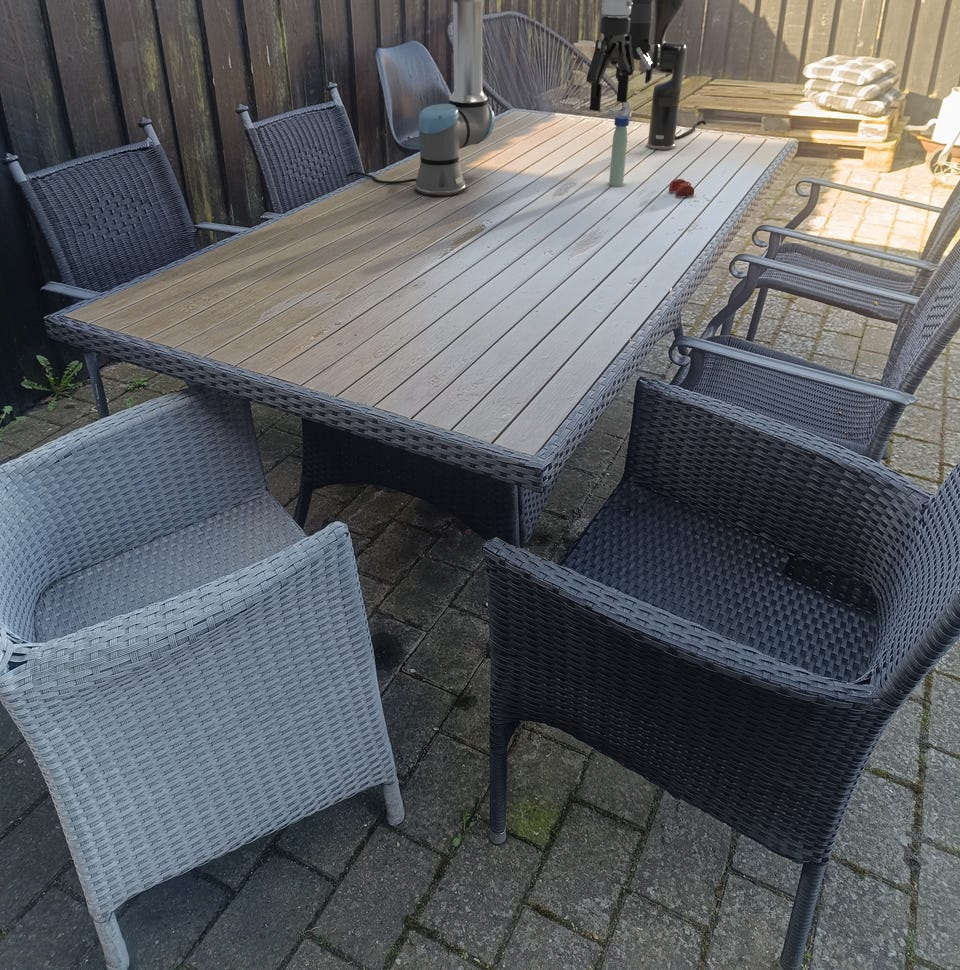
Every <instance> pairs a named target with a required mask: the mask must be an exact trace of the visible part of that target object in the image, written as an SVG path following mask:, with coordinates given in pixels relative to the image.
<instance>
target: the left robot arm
mask: <svg viewBox="0 0 960 970" xmlns="http://www.w3.org/2000/svg"><path fill="white" fill-rule="evenodd" d="M483 1H484V0H451V3H452V4H451V5H452V54H453V58H452V59H453V60H452V61H453V92H452V94H451V95H450V96H449V97H448V103H438V104H431V105H428V106H426V107H424V108H423V109H422V110H421V111H420V112H419V114H418V115H419V116H418V126H417V127H418V137H419V138H418V139H419V157H420V158H419V159H420V161H419V162H420V164H419V168H418V172H417V176H416V178H409V179H404V180H381V179H378V178H377V177H375V176H374V175H372V174H369V173H365V172H362V171H356V170H355V171H354V170H353V171H350V172H349V173H347V174H346V176H345V177H347V178H348V177H351V176H352V175H360V176H363V177H367V178H370V179H372V180H373V181H374V182H375V183H378V184H379V183H380V184H386V185H387V184H388V185H389V184H390V185H393V184H394V185H395V184H407V183H412V182H415V185H414V186H415V192H417V193H418V194H420V195H424V196H430V197H450V196H455V195H459V194H461V193H463V192H464V191H466V181H465V179H464V176H463V172H462V169H461V165H460V149H463V148H467V147H470V146H474V145H475V146H476V145H479V144H480V143H482V142H484V141H486V140H487V139H488V138H489V137H490V136H491V135H492V133H493V131H494V128H495V123H496V117H495V113H494V110H492V106H491V105H490V104H489V103H488V96H487V95H486V94H485V93H484V91H483V16H484V15H483V14H484V13H483V8H484V7H483V3H484V2H483ZM631 6H632V0H601V8H600V9H601V10H600V14H601V18H600V24H599V33H600V34H602V35H603V39H596V40H595V45H594V50H593V55H592V58H591V61H590V65H589V67H588V71H587V75H586V78H585V79H586V82H587V83H588V84H590V99H589V100H590V101H589V111H594V112H595V111H596V112H600V111H601V102H602V88H603V84H602V83H601V81H602V80H603V77H604V75H605V72H606V70H607V68H608V65H609V63H610V62H611V60H612V58H614V57H615V58H616V61H617V63H618V66H619V69H620V72H621V74H622V75H619V80H618V81H617V92H616V102H619V103H627V101H628V94H629V93H628V91H629V82H630V79H629V78H630V77H632V76H634V72H635V70H636V69H635V62H634V60H635V59H633V53H632V46H631V35H627V34H628V33H629V30H630V17H628V15H630V14H631Z"/></svg>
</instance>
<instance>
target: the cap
mask: <svg viewBox="0 0 960 970" xmlns="http://www.w3.org/2000/svg"><path fill="white" fill-rule="evenodd" d="M629 125H630V116H628V115H625V114H624V115H623V114H622V115H621V114H620V115H619V114H618V115H615V116H614V126H615V127H616V126H620V127H625V126H626V127H628V126H629Z"/></svg>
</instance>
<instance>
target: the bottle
mask: <svg viewBox="0 0 960 970" xmlns="http://www.w3.org/2000/svg"><path fill="white" fill-rule="evenodd" d="M628 139H629V138H628V127H627V126H625V127H620V126H615V129H614V132H613V135H612V144H611V156H610V167H609V168H610V170H609V180H608V181H609V182H608V185H609V186H610V187H622V186H624V178H625V170H626V169H625V168H626V159H627V148H628Z"/></svg>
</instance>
